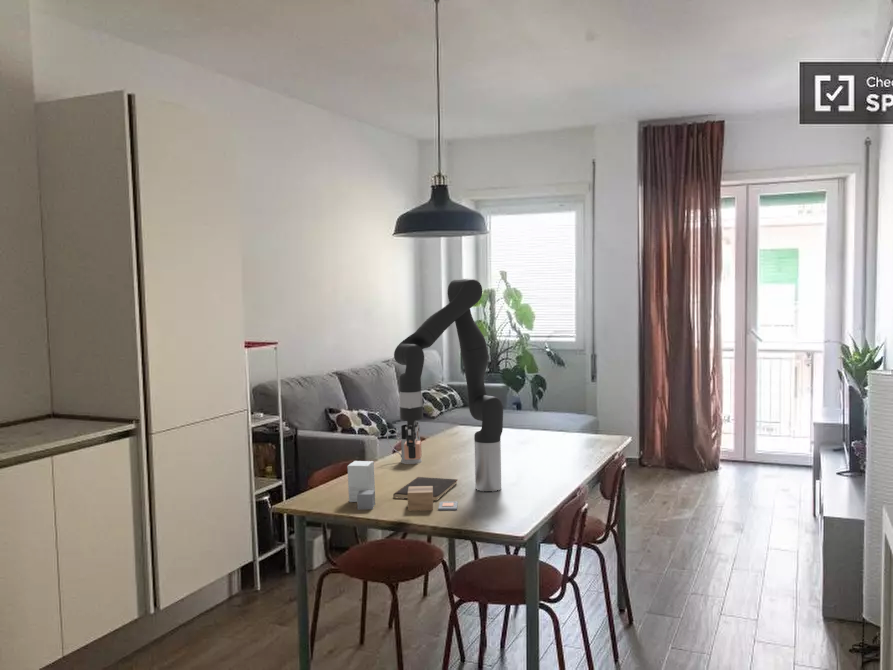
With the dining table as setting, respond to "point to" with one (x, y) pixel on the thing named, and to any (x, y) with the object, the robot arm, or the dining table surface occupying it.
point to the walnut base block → (420, 498)
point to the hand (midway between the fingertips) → (413, 456)
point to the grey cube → (366, 499)
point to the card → (448, 505)
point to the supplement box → (360, 478)
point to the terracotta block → (417, 449)
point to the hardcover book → (438, 485)
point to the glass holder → (403, 440)
